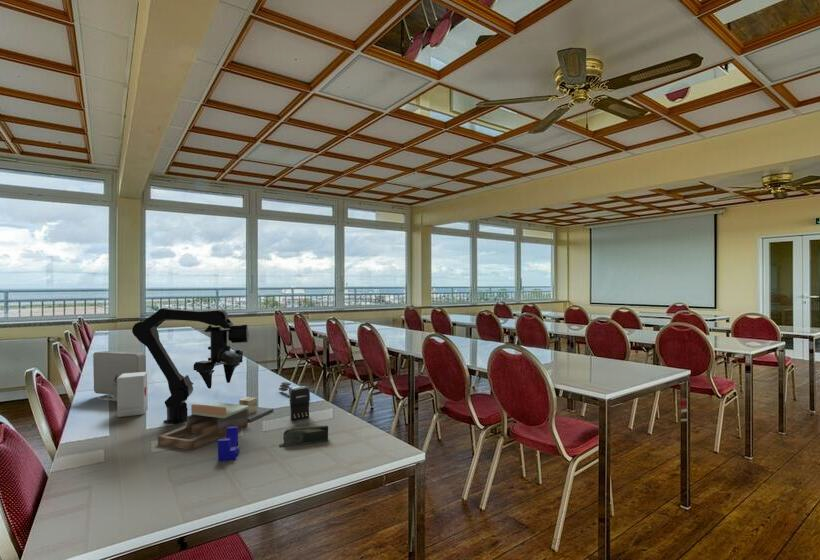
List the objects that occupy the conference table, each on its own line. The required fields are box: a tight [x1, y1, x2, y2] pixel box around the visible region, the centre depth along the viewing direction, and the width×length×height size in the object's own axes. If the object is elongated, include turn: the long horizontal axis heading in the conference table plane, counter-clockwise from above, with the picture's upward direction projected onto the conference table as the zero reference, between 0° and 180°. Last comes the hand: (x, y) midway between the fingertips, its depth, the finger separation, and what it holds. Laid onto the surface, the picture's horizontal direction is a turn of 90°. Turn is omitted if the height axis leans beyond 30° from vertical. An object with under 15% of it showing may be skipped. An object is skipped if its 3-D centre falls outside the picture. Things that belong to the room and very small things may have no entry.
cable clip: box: [217, 426, 240, 462], centre depth 132 cm, size 12×4×6 cm, turn 10°
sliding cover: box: [190, 402, 249, 418], centre depth 154 cm, size 14×12×3 cm
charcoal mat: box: [247, 406, 274, 422], centre depth 168 cm, size 13×13×1 cm
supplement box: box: [116, 371, 149, 418], centre depth 173 cm, size 9×9×15 cm
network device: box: [92, 350, 147, 402], centre depth 196 cm, size 26×9×20 cm, turn 73°
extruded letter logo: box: [278, 381, 294, 396], centre depth 193 cm, size 25×2×6 cm, turn 41°
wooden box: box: [157, 409, 248, 451], centre depth 148 cm, size 14×24×6 cm, turn 159°
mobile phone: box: [278, 425, 329, 448], centre depth 139 cm, size 5×3×15 cm
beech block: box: [238, 396, 258, 414], centre depth 168 cm, size 4×4×5 cm
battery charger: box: [289, 386, 311, 421], centre depth 162 cm, size 7×4×11 cm, turn 118°
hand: (219, 385), depth 166 cm, fingers open, 9 cm apart
